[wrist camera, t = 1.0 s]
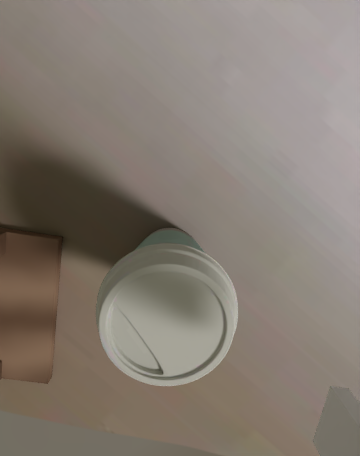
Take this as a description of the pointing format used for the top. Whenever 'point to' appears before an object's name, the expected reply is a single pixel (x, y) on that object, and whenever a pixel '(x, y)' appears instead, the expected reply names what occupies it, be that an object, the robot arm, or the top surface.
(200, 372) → the coffee cup
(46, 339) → the wooden stand
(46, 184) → the top surface
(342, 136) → the top surface
